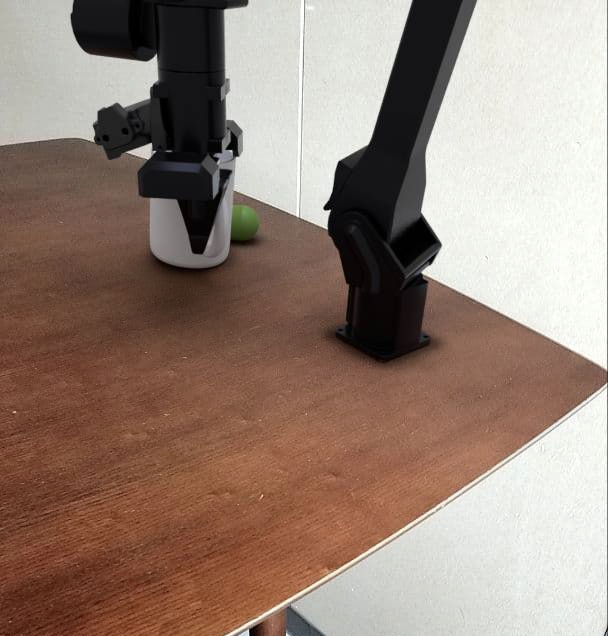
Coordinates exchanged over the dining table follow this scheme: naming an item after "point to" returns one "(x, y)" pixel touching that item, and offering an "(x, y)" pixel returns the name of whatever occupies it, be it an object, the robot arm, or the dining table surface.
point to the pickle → (243, 223)
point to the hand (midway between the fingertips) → (198, 252)
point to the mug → (172, 234)
